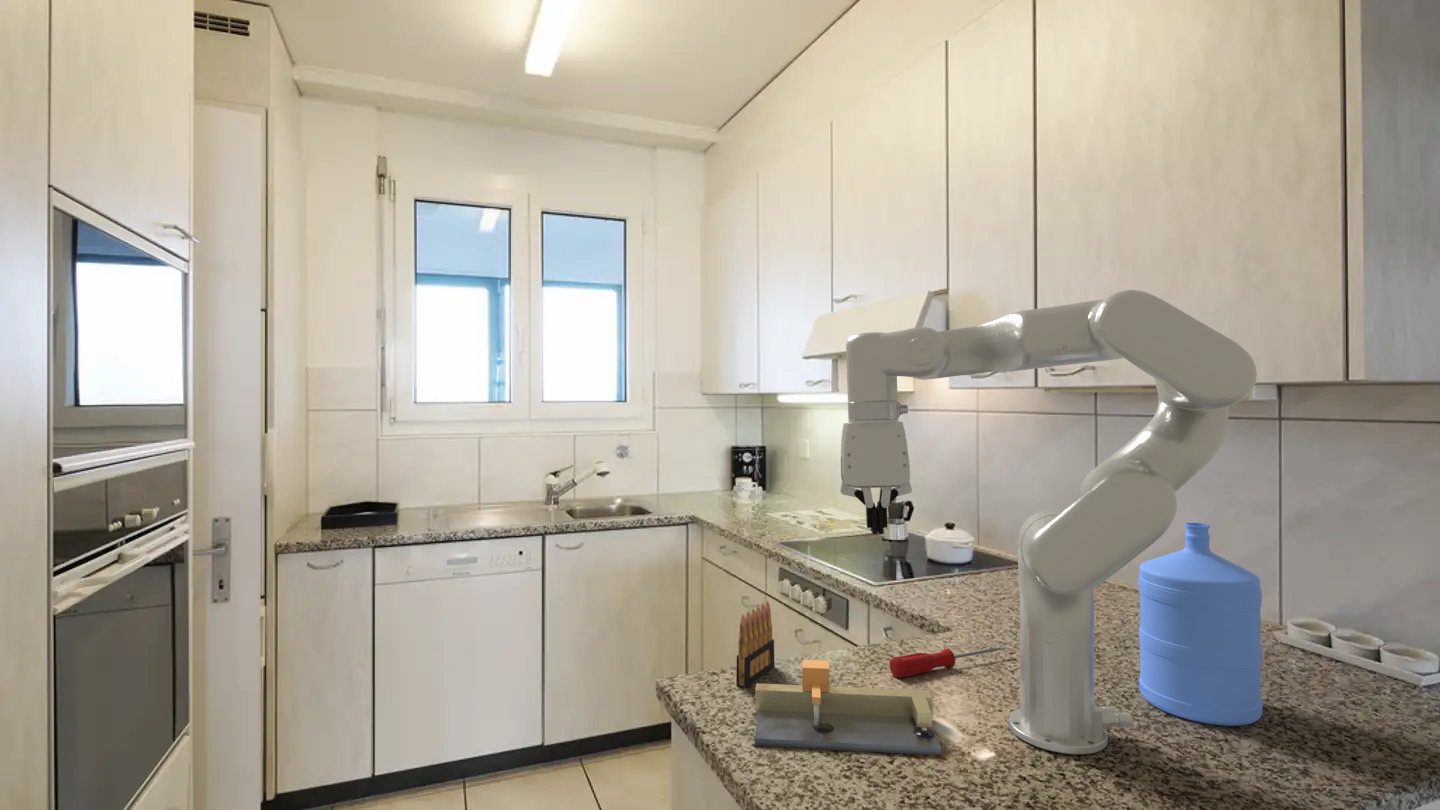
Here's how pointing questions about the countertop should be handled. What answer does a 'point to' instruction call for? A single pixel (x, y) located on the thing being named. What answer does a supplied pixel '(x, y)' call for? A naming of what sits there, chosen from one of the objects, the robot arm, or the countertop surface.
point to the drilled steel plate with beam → (846, 719)
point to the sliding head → (815, 682)
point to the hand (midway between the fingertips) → (877, 532)
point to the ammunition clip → (755, 646)
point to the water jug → (1200, 635)
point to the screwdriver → (927, 661)
